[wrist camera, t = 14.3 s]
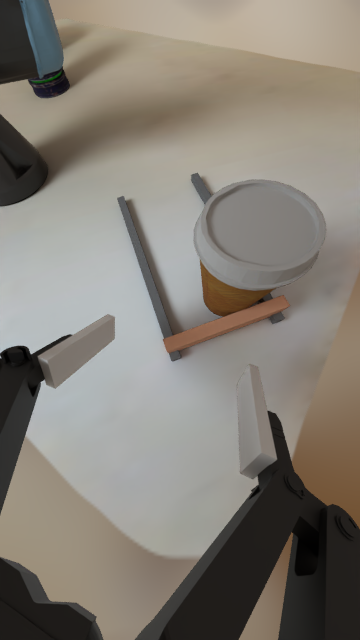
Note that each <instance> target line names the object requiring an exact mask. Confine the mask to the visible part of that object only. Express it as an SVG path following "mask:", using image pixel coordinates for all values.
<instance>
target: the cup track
mask: <svg viewBox="0 0 360 640" xmlns="http://www.w3.org/2000/svg"><path fill="white" fill-rule="evenodd" d="M191 181H192V183H193V185H194V186H195V188H196V190H197V192H198V193H199V195H200V197H201V199H202V200H203V202H204V204H206V203H207V201H208V200H209V199H210V198H211V197H212V196H211V194H210V193H209V191H208V189H207V188H206V186H205V184H204V183H203V181H202V179H201V178H200V176H199V174H198V173H196V174H192V175H191ZM117 199H118V202H119V205H120V208H121V211H122V214H123V217H124V220H125V223H126V226H127V229H128V232H129V235H130V238H131V241H132V244H133V247H134V250H135V253H136V256H137V259H138V262H139V265H140V268H141V271H142V274H143V277H144V280H145V283H146V286H147V289H148V292H149V295H150V298H151V301H152V304H153V307H154V310H155V313H156V316H157V319H158V322H159V325H160V328H161V331H162V334H163V337H164V339H163V341H164V344H165V347H166V350H167V352H168V353H169V355H170V358H171V361H175V360H178V359H180V358H181V356H180V353H179V350H182V349H185V348H187V347H190V346H193V345H195V344H198V343H201V342H203V341H206V340H209V339H212V338H214V337H217V336H220V335H222V334H225V333H228V332H230V331H233V330H236V329H238V328H241V327H244V326H246V325H249V324H252V323H254V322H257V321H260V320H262V319H265V318H268V317H269V318H270V320H271V322H272V324H273V323H276V322H279V321H281V320H283V319H285V318H284V316H283V314H282V313H281V311H283V310H284V309H286V308H287V307H289V306H290V305H289V303H288V301H287V300H286V298H285V297H284V295H282V296H279V297H277V298H274V299H273V298H272V296H271V294H270V293H268V294H267V295H266V296H264V297H263V298H261V299H260V300H259V301H260V304H257V305H255V306H252V307H249V308H247V309H244V310H241V311H238V312H236V313H233V314H230V315H228V316H225V317H222V318H219V319H217V320H214V321H211V322H208V323H206V324H203V325H200V326H198V327H195V328H192V329H189V330H187V331H184V332H181V333H178V334H176V335H173V334H172V331H171V328H170V325H169V323H168V320H167V317H166V314H165V311H164V308H163V306H162V303H161V300H160V297H159V294H158V292H157V289H156V286H155V283H154V280H153V277H152V275H151V272H150V269H149V266H148V263H147V261H146V258H145V255H144V252H143V249H142V246H141V244H140V241H139V238H138V235H137V232H136V230H135V227H134V224H133V221H132V218H131V215H130V213H129V210H128V207H127V204H126V201H125V199H124V196H122V197H119V198H117Z"/></svg>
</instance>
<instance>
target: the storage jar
mask: <svg viewBox="0 0 360 640" xmlns="http://www.w3.org/2000/svg"><path fill="white" fill-rule="evenodd" d="M28 81H29V83H30V85H31V86H32V87H33V90H34V92H35V94H36V95H37V96H38V97H40V98H52V97H56V96H58V95H61V94H63V93H64V92H66V91H67V90H68V88H69V86H70V84H69V81H68V79H67V78H66V76H65V72H64V70H63V66H62V67H61V69H59V70H58V71H54V72H51V73H48V74H45V75H43V77H42V78H41V79H40V78H39V77H36V78H31V79H28Z"/></svg>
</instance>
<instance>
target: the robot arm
mask: <svg viewBox="0 0 360 640" xmlns="http://www.w3.org/2000/svg"><path fill="white" fill-rule="evenodd" d="M63 61H64V57H63V49H62V45H61V41H60V37H59V34H58V30H57V27H56V24H55V20H54V17H53V13H52V10H51V7H50V4H49V1H48V0H0V84H5V83H10V82H16V81H21V80H26V79H31V78H36V77H39V78H40V79H41V78H42V77H43V75H45V74H48V73H51V72H54V71H58V70H59V69H61V67H62V65H63ZM47 173H48V167H47V164H46V162H45V161H44V160H43V158H42V157H41V155H40V154H39V152H38V151H37V150H36V149H35V147H34V146H33V145H32V144H31V143H29V142H28V141H27V140H26V139H25V138H24V137H23V136H22V135H21V134H20V133H19V132H18V131H17V130H16V129H15V128H14V127H13V126H12V125H11V124H10V123H9V122H8V121H7V120H6V119H5V118H4V117H3V116H2V115H1V114H0V206H1V205H8V204H12V203H15V202H18V201H20V200H22V199H24V198H26V197H28V196H29V195H31V194H32V193H34V192H35V191H36V190H37V189H38V188H39V187H40V186H41V185H42V184H43V182H44V181H45V179H46V177H47ZM114 339H115V317H114V316H111V315H106V316H104V317H102V318H101V319H99V320H97V321H96V322H94V323H92V324H91V325H89V326H87V327H86V328H84V329H82V330H81V331H79V332H77V333H76V334H74V335H71V334H70V335H66V336H63V337H61V338H59V339H58V340H56V341H54V342H52V343H51V344H49V345H47V346H45V347H44V348H42V349H40V350H38V351H36V352H35V353H33V354H30V351H29V349H28V348H27V347H25V346H14V347H11V348H8V349H6V350H4V351H2V352H1V353H0V356H1V358H0V513H1V510H2V507H3V504H4V500H5V498H6V494H7V491H8V488H9V485H10V481H11V479H12V475H13V472H14V469H15V466H16V463H17V459H18V456H19V453H20V450H21V447H22V444H23V441H24V437H25V434H26V431H27V428H28V425H29V422H30V418H31V415H32V412H33V409H34V406H35V402H36V399H37V396H38V393H39V390H40V387H41V383H40V382H42V381H43V380H44V379H45V382H46V385H48V386H50V387H53V388H55V389H56V388H57V387H58V386H59V385H60V384H62V383H63V382H64V381H65V380H66V379H68V378H69V377H70V376H71V375H72V374H73V373H75V372H76V371H77V370H78V369H79V368H81V367H82V366H83V365H84V364H85V363H87V362H88V361H89V360H90V359H91V358H92V357H94V356H95V355H96V354H97V353H98V352H100V351H101V350H102V349H103V348H104V347H106V346H107V345H108V344H109V343H110V342H112V341H113V340H114ZM237 402H238V431H239V460H240V474H243V475H245V476H247V477H249V478H251V479H254V478H255V477H257V476H258V482H259V485H257V486H256V487H255V488H254V489H252V490H251V491H252V493H251V494H250V495H249V497H248V498H247V499H246V501H245V502H244V503H243V504H242V506H241V507H240V508H239V510H238V511H237V512H236V513H235V515H234V516H233V517H232V519H231V520H230V521H229V522H228V524H227V525H226V526H225V528H224V529H223V530H222V532H221V533H220V534H219V535H218V537H217V538H216V539H215V541H214V542H213V543H212V544H211V546H210V547H209V548H208V550H207V551H206V552H205V553H204V555H203V556H202V557H201V559H200V560H199V561H198V562H197V564H196V565H195V566H194V568H193V569H192V570H191V571H190V573H189V574H188V575H187V577H186V578H185V579H184V580H183V582H182V583H181V584H180V586H179V587H178V588H177V589H176V591H175V592H174V593H173V595H172V596H171V597H170V599H169V600H168V601H167V602H166V604H165V605H164V606H163V607H162V609H161V610H160V611H159V613H158V614H157V615H156V616H155V618H154V619H153V620H152V621H151V622H150V623H149V624H148V625H147V626H146V627H145V628H144V629H143V630H142V631H141V633H140V634H139V635H138V636H137V638H136V639H135V640H239V638H240V635H241V634H242V632H243V630H244V628H245V625H246V623H247V621H248V619H249V617H250V615H251V613H252V611H253V609H254V607H255V605H256V603H257V601H258V599H259V597H260V595H261V593H262V591H263V589H264V587H265V584H266V583H267V581H268V579H269V577H270V575H271V573H272V571H273V569H274V567H275V565H276V563H277V561H278V559H279V556H280V554H281V552H282V550H283V548H284V546H285V544H286V542H287V540H288V538H289V536H290V534H291V532H292V533H293V540H292V547H291V554H290V561H289V568H288V575H287V582H286V589H285V596H284V603H283V610H282V617H281V624H280V631H279V638H278V640H360V529H359V528H358V526H357V524H356V523H355V522H354V520H353V519H352V518H351V517H350V516H349V514H348V513H347V512H346V511H345V510H343V509H342V508H340V507H339V506H337V505H334V504H332V505H329V506H327V505H325V504H324V503H323V502H322V501H320V500H319V499H318V498H316V497H315V496H314V495H313V494H311V493H310V492H309V491H308V490H307V489H306V488H305V486H304V484H303V482H302V480H301V479H300V478H299V476H298V475H297V474H296V473H295V472H294V469H293V466H292V462H291V458H290V454H289V451H288V447H287V443H286V440H285V436H284V433H283V428H282V425H281V422H280V420H279V418H278V417H277V415H276V414H275V413H272V412H270V411H267V408H266V403H265V398H264V393H263V388H262V384H261V379H260V374H259V369H258V367H257V366H254V365H251V364H249V365H248V366H247V368H246V370H245V372H244V373H243V375H242V377H241V378H240V380H239V382H238V384H237ZM95 620H96V616H95V615H93V614H92V613H90V612H89V611H88V610H86V609H85V608H83V607H82V606H80V605H79V604H77V603H69V602H52V601H50V600H49V599H48V597H47V595H46V593H45V591H44V589H43V587H42V585H41V583H40V581H39V579H38V577H37V576H36V575H35V574H34V573H32V572H31V571H29V570H28V569H26V568H25V567H23V566H22V565H20V564H19V563H16V562H13V561H10V560H7V559H4V558H1V557H0V640H103V637H102V634H101V631H100V629H99V627H98V625H97V623H96V621H95Z"/></svg>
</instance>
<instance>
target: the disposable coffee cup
mask: <svg viewBox="0 0 360 640" xmlns="http://www.w3.org/2000/svg"><path fill="white" fill-rule="evenodd" d="M325 234H326V223H325V220H324V217H323V214H322V212H321V211H320V209H319V208H318V206H317V204H316V203H315V202H314V201H313V200H311V199H310V198H309V197H308V196H307V195H306V194H305V193H303V192H301V191H299V190H297V189H296V188H294V187H292V186H290V185H286V184H283V183H280V182H276V181H270V180H247V181H242V182H237V183H233V184H231V185H228V186H226V187H224V188H222V189H221V190H219V191H218V192H216V193H215V194H214V195H213V196H212V197H211V198H210V199H209V200H208V201H207V203H206V204H205V206H204V209H203V211H202V213H201V215H200V216H199V218H198V220H197V222H196V225H195V228H194V246H195V249H196V252H197V255H198V257H199V258H200V266H201V276H202V287H203V298H204V302H205V304H206V306H207V307H208V309H209V310H210V311H211V312H213V313H214V314H216V315H219V316H223V317H225V316H228V315H230V314H233V313H236V312H238V311H241V310H244V309H247V308H248V307H249V306H251V305H252V304H254V303H255V302H257V301H258V300H260V299H261V298H263V297H264V296H266V295H267V294H268V293H270V292H271V291H273V290H274V289H276V288H278V287H281V286H284V285H287V284H290V283H292V282H294V281H295V280H297V279H299V278H300V277H302V276H303V275H304V274H305V273H306V272H307V271H308V270H309V269H310V268H311V267H312V266H313V264H314V262H315V261H316V259H317V256H318V253H319V250H320V248H321V246H322V244H323V241H324V239H325Z"/></svg>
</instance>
